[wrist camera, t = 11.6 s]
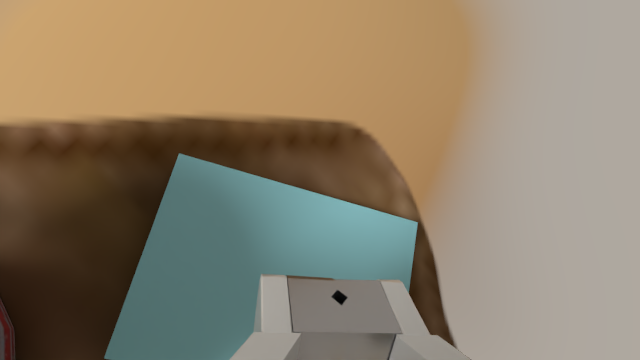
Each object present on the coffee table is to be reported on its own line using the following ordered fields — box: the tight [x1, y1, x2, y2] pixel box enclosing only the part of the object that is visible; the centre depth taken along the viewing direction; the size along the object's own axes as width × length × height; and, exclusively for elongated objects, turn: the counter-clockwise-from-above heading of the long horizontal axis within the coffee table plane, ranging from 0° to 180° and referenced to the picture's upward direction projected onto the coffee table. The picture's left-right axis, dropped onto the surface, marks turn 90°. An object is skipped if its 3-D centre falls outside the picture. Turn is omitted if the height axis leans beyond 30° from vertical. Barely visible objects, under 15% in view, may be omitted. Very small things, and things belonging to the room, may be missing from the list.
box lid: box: [104, 153, 418, 360], centre depth 25 cm, size 2×17×12 cm
